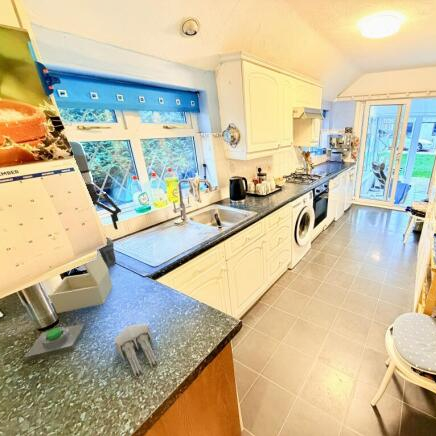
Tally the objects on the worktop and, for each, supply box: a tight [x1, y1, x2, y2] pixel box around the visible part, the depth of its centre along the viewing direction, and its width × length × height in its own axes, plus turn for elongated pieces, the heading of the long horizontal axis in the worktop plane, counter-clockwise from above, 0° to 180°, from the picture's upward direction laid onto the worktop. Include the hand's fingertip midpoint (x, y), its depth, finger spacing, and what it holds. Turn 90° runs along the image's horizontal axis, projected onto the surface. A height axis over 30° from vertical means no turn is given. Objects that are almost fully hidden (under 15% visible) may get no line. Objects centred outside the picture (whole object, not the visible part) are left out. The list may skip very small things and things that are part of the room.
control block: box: [23, 323, 87, 363], centre depth 80 cm, size 12×10×4 cm
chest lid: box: [83, 250, 109, 286], centre depth 98 cm, size 16×13×5 cm
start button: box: [46, 327, 62, 340], centre depth 79 cm, size 4×4×2 cm
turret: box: [113, 322, 159, 378], centre depth 78 cm, size 10×20×5 cm, turn 45°
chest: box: [49, 270, 114, 314], centre depth 100 cm, size 16×13×9 cm
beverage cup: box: [98, 236, 117, 267], centre depth 124 cm, size 7×7×20 cm
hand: (96, 233), depth 98 cm, fingers open, 13 cm apart
